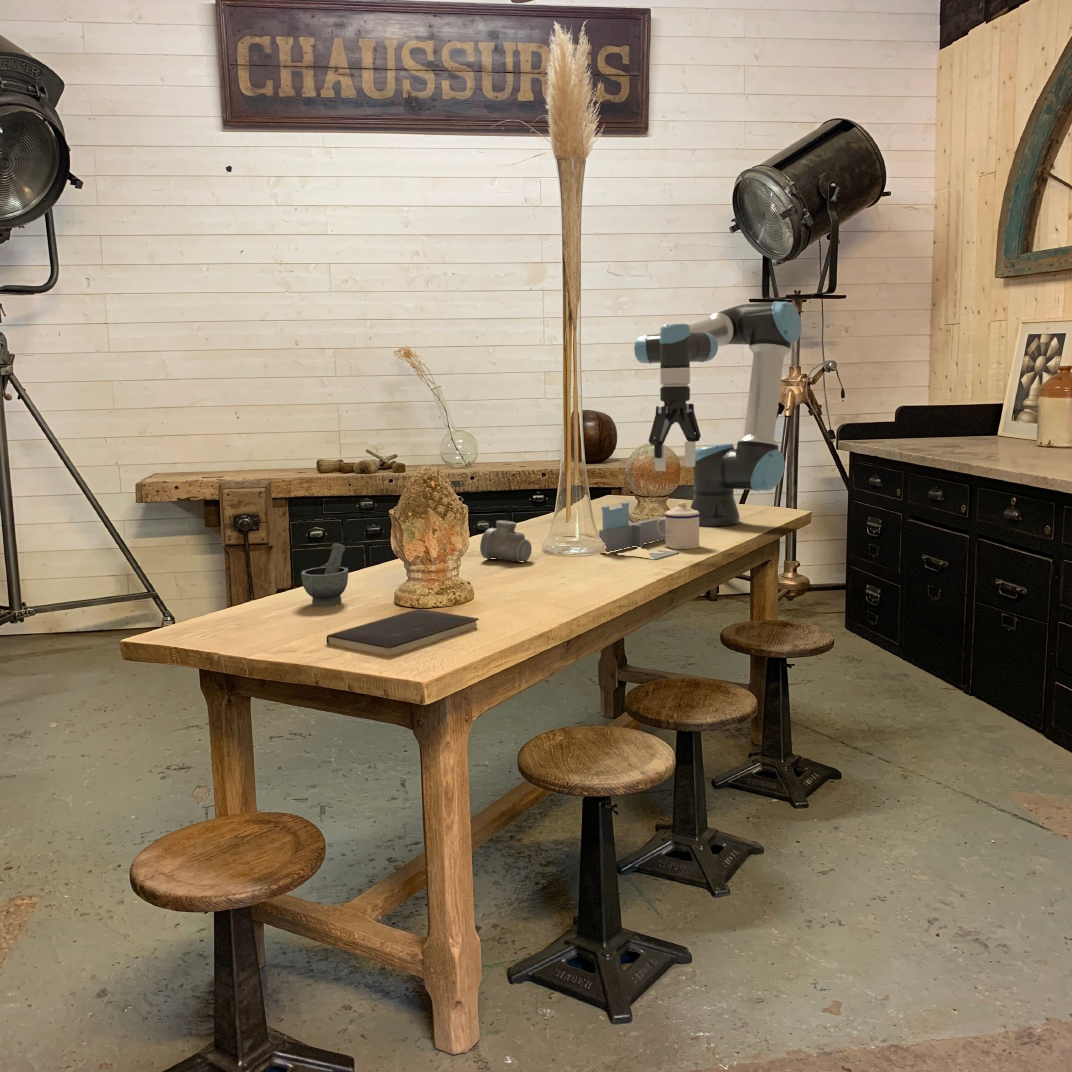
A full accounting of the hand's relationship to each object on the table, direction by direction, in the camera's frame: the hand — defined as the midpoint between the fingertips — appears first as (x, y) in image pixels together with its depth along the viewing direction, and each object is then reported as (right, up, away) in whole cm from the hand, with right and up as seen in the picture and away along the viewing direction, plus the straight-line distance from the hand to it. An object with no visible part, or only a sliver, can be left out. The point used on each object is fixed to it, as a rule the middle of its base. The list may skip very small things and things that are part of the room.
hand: (675, 468), depth 267 cm
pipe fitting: (-43, -24, -9) cm, 50 cm away
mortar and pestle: (-79, -32, -50) cm, 99 cm away
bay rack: (-5, -21, +1) cm, 21 cm away
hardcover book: (-60, -36, -79) cm, 105 cm away
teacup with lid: (+1, -20, +3) cm, 21 cm away
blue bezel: (-15, -15, -1) cm, 22 cm away
